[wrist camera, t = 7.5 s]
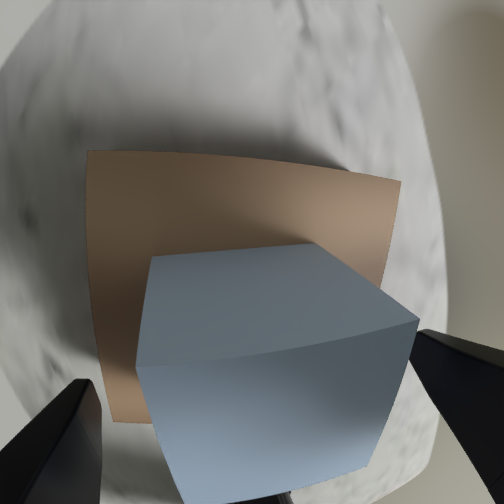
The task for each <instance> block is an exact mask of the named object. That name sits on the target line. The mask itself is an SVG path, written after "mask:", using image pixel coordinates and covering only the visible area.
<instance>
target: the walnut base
mask: <svg viewBox="0 0 504 504" xmlns="http://www.w3.org/2000/svg"><path fill="white" fill-rule="evenodd" d="M400 186H401V181H397V180H392V179H387V178H382V177H377V176H372V175H367V174H361V173H356V172H350V171H344V170H338V169H332V168H326V167H319V166H312V165H305V164H298V163H290V162H283V161H274V160H266V159H257V158H247V157H237V156H225V155H213V154H199V153H182V152H161V151H123V150H93V151H87V168H86V246H87V264H88V277H89V288H90V298H91V307H92V315H93V323H94V330H95V337H96V343H97V349H98V355H99V360H100V366H101V371H102V376H103V381H104V385H105V390H106V394H107V399H108V403H109V407H110V411H111V415H112V419H113V422H123V423H146V424H153V423H152V420H151V417H150V414H149V411H148V408H147V405H146V402H145V399H144V395H143V392H142V389H141V385H140V382H139V378H138V375H137V371H136V358H137V349H138V341H139V333H140V326H141V319H142V312H143V305H144V299H145V293H146V287H147V281H148V275H149V270H150V264H151V259H152V257H153V256H165V255H177V254H188V253H200V252H212V251H224V250H236V249H248V248H260V247H272V246H284V245H297V244H309V243H316V244H318V245H319V246H321V247H322V248H324V249H325V250H326V251H328V252H329V253H331V254H332V255H333V256H335V257H336V258H338V259H339V260H341V261H342V262H343V263H345V264H346V265H348V266H349V267H350V268H352V269H353V270H355V271H356V272H357V273H359V274H360V275H361V276H363V277H364V278H366V279H367V280H368V281H370V282H371V283H372V284H374V285H375V286H377V287H378V288H379V289H380V286H381V282H382V278H383V273H384V269H385V265H386V261H387V256H388V252H389V247H390V242H391V237H392V232H393V227H394V222H395V216H396V211H397V205H398V199H399V193H400Z"/></svg>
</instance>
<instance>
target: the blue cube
mask: <svg viewBox="0 0 504 504" xmlns="http://www.w3.org/2000/svg"><path fill="white" fill-rule="evenodd" d="M419 321H420V319H419V318H418V317H417V316H415V315H414V314H413V313H411V312H410V311H409V310H407V309H406V308H405V307H403V306H402V305H401V304H399V303H398V302H397V301H395V300H394V299H393V298H391V297H390V296H389V295H387V294H386V293H385V292H383V291H382V290H381V289H379V288H378V287H377V286H375V285H374V284H372V283H371V282H370V281H368V280H367V279H366V278H364V277H363V276H361V275H360V274H359V273H357V272H356V271H355V270H353V269H352V268H350V267H349V266H348V265H346V264H345V263H343V262H342V261H341V260H339V259H338V258H336V257H335V256H333V255H332V254H331V253H329V252H328V251H326V250H325V249H324V248H322V247H321V246H319V245H318V244H316V243H309V244H297V245H284V246H272V247H260V248H248V249H236V250H224V251H212V252H200V253H188V254H177V255H165V256H153V257H152V259H151V264H150V270H149V275H148V281H147V287H146V293H145V299H144V305H143V312H142V319H141V326H140V333H139V341H138V349H137V358H136V371H137V375H138V378H139V382H140V385H141V389H142V392H143V395H144V399H145V402H146V405H147V408H148V411H149V414H150V417H151V420H152V423H153V426H154V429H155V432H156V435H157V438H158V441H159V443H160V446H161V449H162V451H163V454H164V457H165V459H166V462H167V464H168V467H169V469H170V472H171V474H172V477H173V479H174V482H175V484H176V486H177V489H178V491H179V493H180V495H181V498H182V500H183V502H184V504H226V503H233V502H239V501H245V500H251V499H256V498H261V497H266V496H270V495H275V494H279V493H283V492H288V491H292V490H295V489H299V488H303V487H306V486H310V485H313V484H317V483H320V482H323V481H326V480H329V479H333V478H336V477H338V476H341V475H344V474H347V473H350V472H353V471H355V470H358V469H361V468H363V467H366V466H367V464H368V462H369V460H370V458H371V456H372V454H373V452H374V449H375V447H376V445H377V443H378V440H379V438H380V436H381V434H382V431H383V429H384V426H385V424H386V422H387V419H388V417H389V414H390V411H391V409H392V406H393V404H394V401H395V398H396V396H397V393H398V390H399V387H400V384H401V381H402V378H403V375H404V372H405V369H406V366H407V363H408V360H409V357H410V353H411V350H412V346H413V343H414V339H415V336H416V332H417V328H418V325H419Z"/></svg>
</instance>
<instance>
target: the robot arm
mask: <svg viewBox="0 0 504 504" xmlns="http://www.w3.org/2000/svg"><path fill="white" fill-rule="evenodd" d="M409 361H410V363H411V364H412V366H413V368H414V370H415V372H416V373H417V375H418V377H419V379H420V381H421V382H422V384H423V386H424V388H425V390H426V392H427V393H428V395H429V397H430V399H431V400H432V402H433V403H434V405H435V406H436V408H437V409H438V411H439V412H440V414H441V415H442V417H443V418H444V420H445V421H446V423H447V424H448V426H449V427H450V429H451V430H452V432H453V433H454V435H455V437H456V438H457V440H458V441H459V443H460V444H461V446H462V448H463V449H464V451H465V452H466V454H467V455H468V457H469V459H470V461H471V462H472V464H473V465H474V467H475V469H476V470H477V472H478V474H479V475H480V477H481V479H482V480H483V482H484V484H485V485H486V487H487V489H488V491H489V493H490V495H491V496H492V498H493V500H494V502H495V503H496V504H504V351H503V350H499V349H495V348H492V347H489V346H485V345H481V344H477V343H474V342H471V341H467V340H464V339H461V338H457V337H453V336H450V335H447V334H443V333H440V332H437V331H433V330H430V329H424V330H420V331H417V332H416V336H415V339H414V343H413V346H412V350H411V353H410V357H409ZM101 471H102V409H101V403H100V400H99V398H98V395H97V393H96V390H95V387H94V385H93V382H92V381H91V380H90V379H75V380H73V381H72V382H71V383H70V384H69V385H68V386H67V387H66V388H65V389H64V390H63V391H62V392H60V393H59V394H58V395H57V396H56V397H55V398H54V399H53V400H52V401H51V402H50V403H49V404H48V405H47V406H46V407H45V408H44V409H43V410H42V411H41V412H40V413H38V414H37V415H36V416H35V417H34V418H33V419H32V420H31V421H30V422H29V423H28V424H27V425H26V426H25V427H24V428H23V429H22V430H21V431H20V432H19V433H18V434H17V435H16V436H15V437H14V438H13V439H12V440H11V441H10V442H9V443H8V444H7V445H6V446H5V447H4V448H3V449H2V450H1V451H0V504H99V503H100V485H101ZM290 493H291V491H288V492H283V493H279V494H275V495H270V496H266V497H261V498H256V499H251V500H245V501H239V502H233V503H226V504H293V502H292V499H291V497H290Z"/></svg>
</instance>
